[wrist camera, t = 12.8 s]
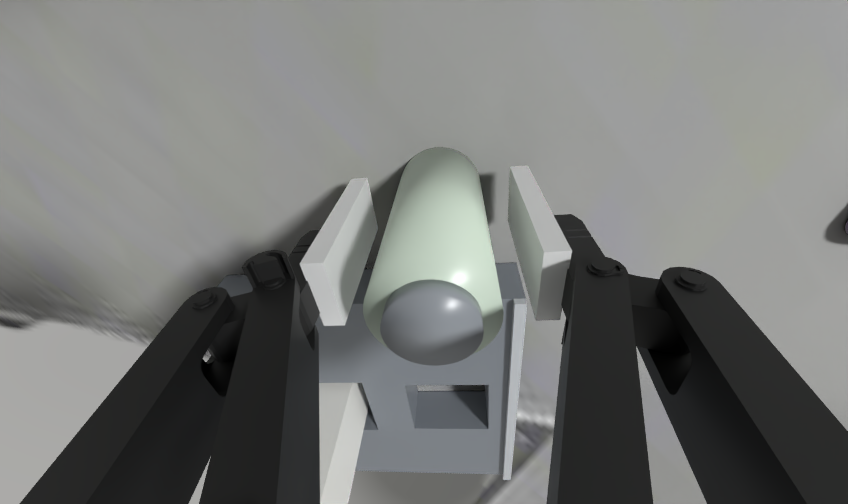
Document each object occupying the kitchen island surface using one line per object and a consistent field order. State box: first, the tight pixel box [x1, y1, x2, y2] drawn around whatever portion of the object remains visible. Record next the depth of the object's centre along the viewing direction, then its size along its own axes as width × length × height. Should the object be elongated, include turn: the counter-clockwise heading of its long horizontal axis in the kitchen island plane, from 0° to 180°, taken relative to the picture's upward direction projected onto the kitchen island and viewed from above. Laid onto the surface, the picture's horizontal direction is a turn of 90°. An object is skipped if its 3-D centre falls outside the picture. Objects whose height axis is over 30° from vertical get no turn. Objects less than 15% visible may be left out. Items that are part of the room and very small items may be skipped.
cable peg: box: [363, 147, 504, 366], centre depth 13 cm, size 4×4×10 cm
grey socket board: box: [217, 263, 527, 480], centre depth 25 cm, size 20×18×3 cm
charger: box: [319, 383, 369, 504], centre depth 22 cm, size 5×4×10 cm
